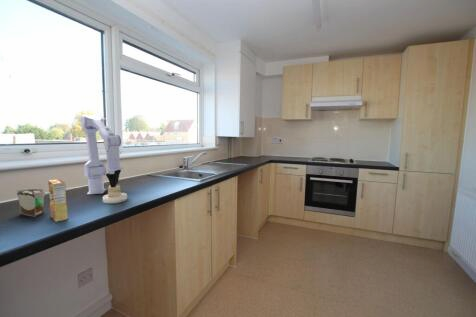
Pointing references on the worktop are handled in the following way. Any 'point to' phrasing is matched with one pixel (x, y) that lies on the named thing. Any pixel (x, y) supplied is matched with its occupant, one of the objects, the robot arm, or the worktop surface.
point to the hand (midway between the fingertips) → (114, 185)
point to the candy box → (58, 200)
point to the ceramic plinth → (114, 199)
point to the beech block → (114, 191)
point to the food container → (31, 201)
